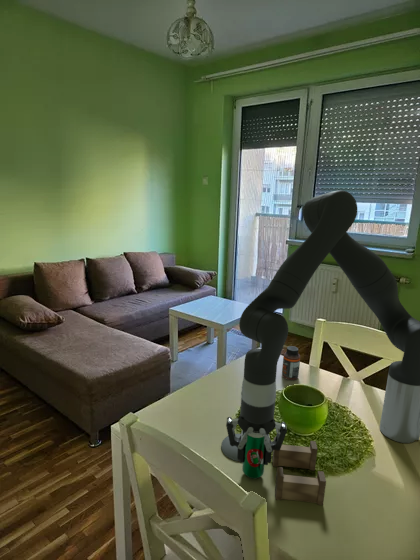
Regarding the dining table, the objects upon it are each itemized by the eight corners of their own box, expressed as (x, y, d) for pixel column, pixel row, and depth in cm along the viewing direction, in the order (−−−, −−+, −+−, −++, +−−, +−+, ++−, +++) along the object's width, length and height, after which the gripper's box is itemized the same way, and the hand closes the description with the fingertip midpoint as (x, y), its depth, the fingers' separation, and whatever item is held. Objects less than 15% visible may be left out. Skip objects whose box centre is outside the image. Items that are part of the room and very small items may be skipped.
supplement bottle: (278, 373, 134) (281, 345, 131) (292, 372, 136) (295, 344, 133) (286, 381, 128) (289, 352, 126) (301, 379, 130) (304, 350, 127)
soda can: (249, 460, 88) (252, 417, 85) (267, 471, 85) (271, 426, 82) (237, 472, 84) (240, 427, 82) (256, 483, 81) (259, 437, 79)
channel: (312, 462, 90) (315, 441, 88) (323, 505, 77) (326, 481, 76) (272, 458, 91) (274, 437, 89) (275, 499, 78) (278, 476, 77)
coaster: (259, 437, 98) (259, 435, 98) (260, 463, 89) (260, 461, 88) (222, 433, 99) (222, 432, 99) (219, 459, 90) (220, 457, 89)
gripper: (289, 389, 83) (283, 453, 87) (227, 384, 85) (224, 447, 88) (293, 408, 76) (286, 476, 80) (225, 402, 77) (221, 469, 81)
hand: (253, 461), depth 84 cm, fingers closed on soda can, 5 cm apart
